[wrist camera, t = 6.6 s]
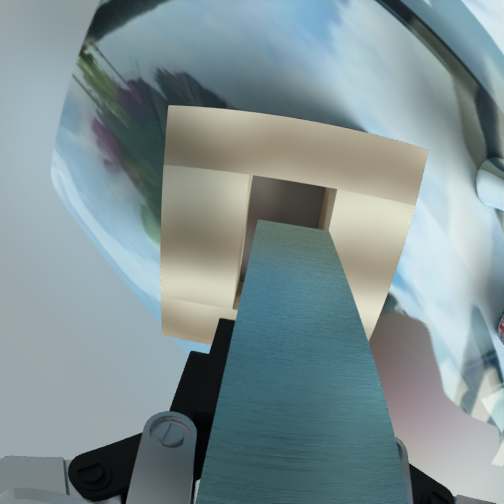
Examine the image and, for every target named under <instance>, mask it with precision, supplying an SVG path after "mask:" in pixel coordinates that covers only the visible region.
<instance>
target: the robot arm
mask: <svg viewBox="0 0 504 504" xmlns="http://www.w3.org/2000/svg"><path fill="white" fill-rule="evenodd" d="M235 321H236V320H231V319H225V318H219V322H218V325H217V328H216V332H215V335H214V339H213V342H212V346H211V349H210V352H209V354H206V353H201V352H196V351H191V352H190V354H189V357H188V359H187V362H186V365H185V368H184V371H183V374H182V376H181V379H180V382H179V385H178V388H177V390H176V393H175V396H174V399H173V402H172V405H171V407H170V411H165V412H161V413H158V414H155V415H153V416H152V417H151V418H150V419H149V420H148V421H147V422H146V424H145V426H144V430H143V432H142V433H139V434H137V435H134V436H132V437H129V438H126V439H124V440H121V441H118V442H115V443H112V444H110V445H107V446H104V447H101V448H98V449H95V450H92V451H89V452H86V453H83V454H81V455H78V456H76V457H75V458H74V459H73V460H64V458H63V457H26V456H6V457H4V458H2V459H0V504H194V502H195V491H196V482H197V480H199V479H201V475H202V471H203V466H204V461H205V457H206V452H207V448H208V443H209V439H210V434H211V430H212V425H213V420H214V416H215V411H216V407H217V402H218V398H219V393H220V389H221V384H222V380H223V375H224V370H225V366H226V361H227V357H228V352H229V348H230V343H231V339H232V334H233V330H234V325H235ZM395 440H396V444H397V448H398V452H399V457H400V461H401V466H402V470H403V475H404V480H405V485H406V490H407V495H408V500H409V504H496V503H492V502H488V501H482V500H478V499H474V498H470V497H465V496H462V495H457V496H455V497H454V496H453V495H452V493H451V492H450V491H449V490H448V489H447V488H446V487H444V486H443V485H441V484H440V483H438V482H437V481H435V480H434V479H432V478H431V477H429V476H428V475H426V474H424V473H423V472H422V471H420V470H419V469H417V468H415V467H414V466H413V465H411V464H409V461H408V454H407V450H406V447H405V445H404V444H403V442H402V441H401V440H399V439H398V438H397V437H395Z"/></svg>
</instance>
